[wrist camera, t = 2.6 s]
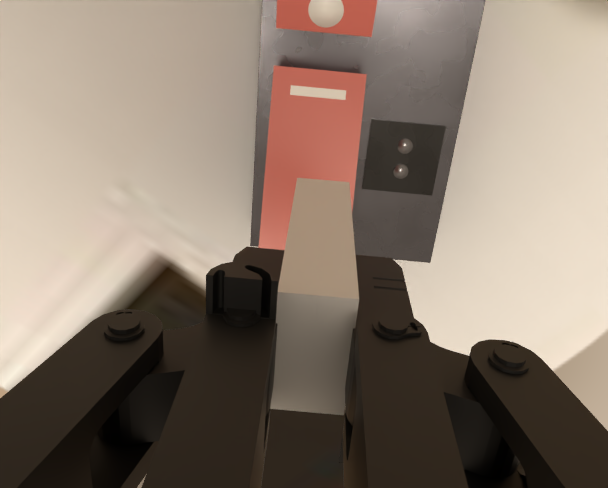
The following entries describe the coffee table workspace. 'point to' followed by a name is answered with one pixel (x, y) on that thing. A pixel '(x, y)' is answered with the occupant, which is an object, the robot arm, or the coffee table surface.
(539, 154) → the coffee table surface
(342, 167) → the plate
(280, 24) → the rocker
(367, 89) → the power strip
